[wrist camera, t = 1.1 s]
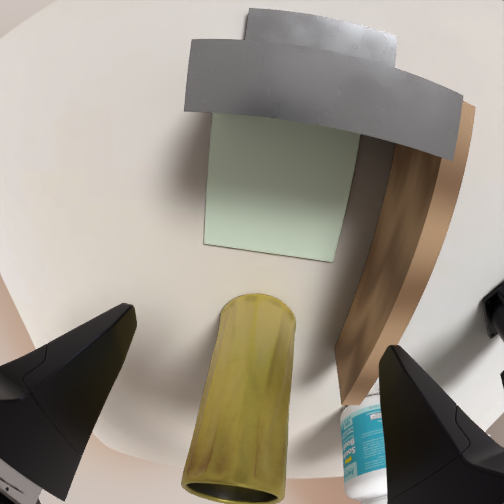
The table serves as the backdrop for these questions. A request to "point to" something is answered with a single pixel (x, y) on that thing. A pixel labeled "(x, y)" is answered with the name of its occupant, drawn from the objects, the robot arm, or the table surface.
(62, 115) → the table surface
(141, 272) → the table surface
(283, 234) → the mat
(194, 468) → the vase
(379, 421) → the pill bottle
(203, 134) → the table surface
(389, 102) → the bookend
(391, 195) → the back rail
